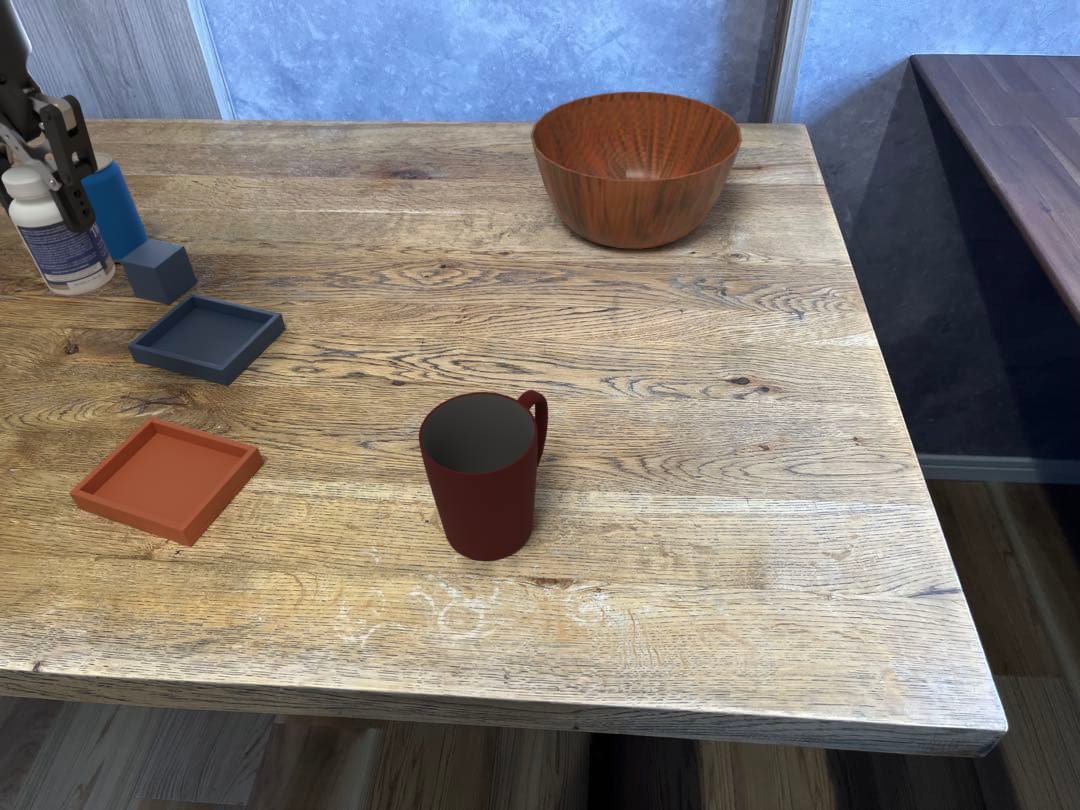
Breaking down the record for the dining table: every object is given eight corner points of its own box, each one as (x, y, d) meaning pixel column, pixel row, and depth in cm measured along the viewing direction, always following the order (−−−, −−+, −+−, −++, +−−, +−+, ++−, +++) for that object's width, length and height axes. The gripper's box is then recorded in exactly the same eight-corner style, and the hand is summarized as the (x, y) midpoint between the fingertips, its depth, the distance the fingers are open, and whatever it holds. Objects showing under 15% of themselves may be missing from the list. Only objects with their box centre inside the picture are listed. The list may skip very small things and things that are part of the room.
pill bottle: (128, 277, 68) (79, 168, 62) (65, 305, 66) (6, 194, 59) (100, 255, 71) (51, 148, 65) (38, 281, 68) (-20, 173, 62)
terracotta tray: (78, 508, 71) (68, 492, 70) (158, 432, 78) (150, 416, 77) (190, 547, 68) (182, 531, 66) (264, 463, 75) (257, 447, 73)
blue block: (135, 297, 95) (119, 260, 92) (164, 274, 99) (150, 238, 95) (169, 305, 94) (154, 268, 91) (198, 282, 97) (184, 245, 94)
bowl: (684, 292, 92) (694, 200, 85) (497, 240, 102) (490, 154, 94) (757, 196, 108) (770, 111, 100) (589, 159, 118) (589, 79, 110)
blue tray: (134, 361, 86) (126, 345, 85) (196, 307, 93) (190, 292, 92) (228, 386, 83) (222, 370, 81) (286, 328, 90) (281, 313, 88)
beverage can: (144, 233, 106) (108, 145, 98) (157, 255, 102) (120, 165, 94) (92, 249, 104) (51, 160, 96) (103, 271, 100) (61, 181, 92)
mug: (508, 451, 75) (500, 357, 67) (585, 496, 70) (586, 401, 63) (414, 532, 68) (393, 438, 61) (493, 587, 64) (481, 493, 56)
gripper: (-190, 1, 53) (-51, 232, 64) (-28, 17, 49) (90, 261, 60) (-88, -31, 58) (24, 188, 69) (66, -19, 54) (159, 212, 65)
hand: (54, 221), depth 65 cm, fingers closed on pill bottle, 5 cm apart
